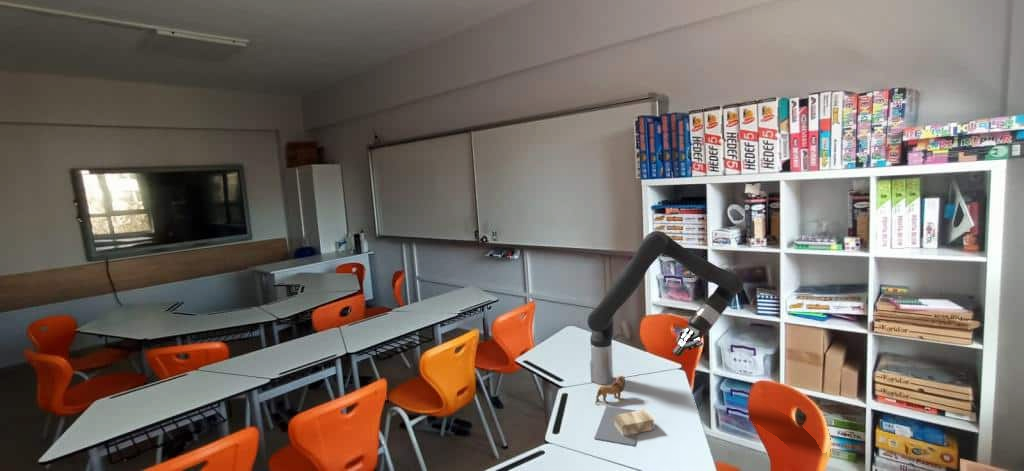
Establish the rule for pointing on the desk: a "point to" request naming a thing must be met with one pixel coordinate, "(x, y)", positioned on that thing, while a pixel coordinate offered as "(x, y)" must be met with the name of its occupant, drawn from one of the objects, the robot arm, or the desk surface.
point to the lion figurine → (612, 389)
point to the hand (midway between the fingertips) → (675, 354)
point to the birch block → (634, 422)
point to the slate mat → (613, 428)
